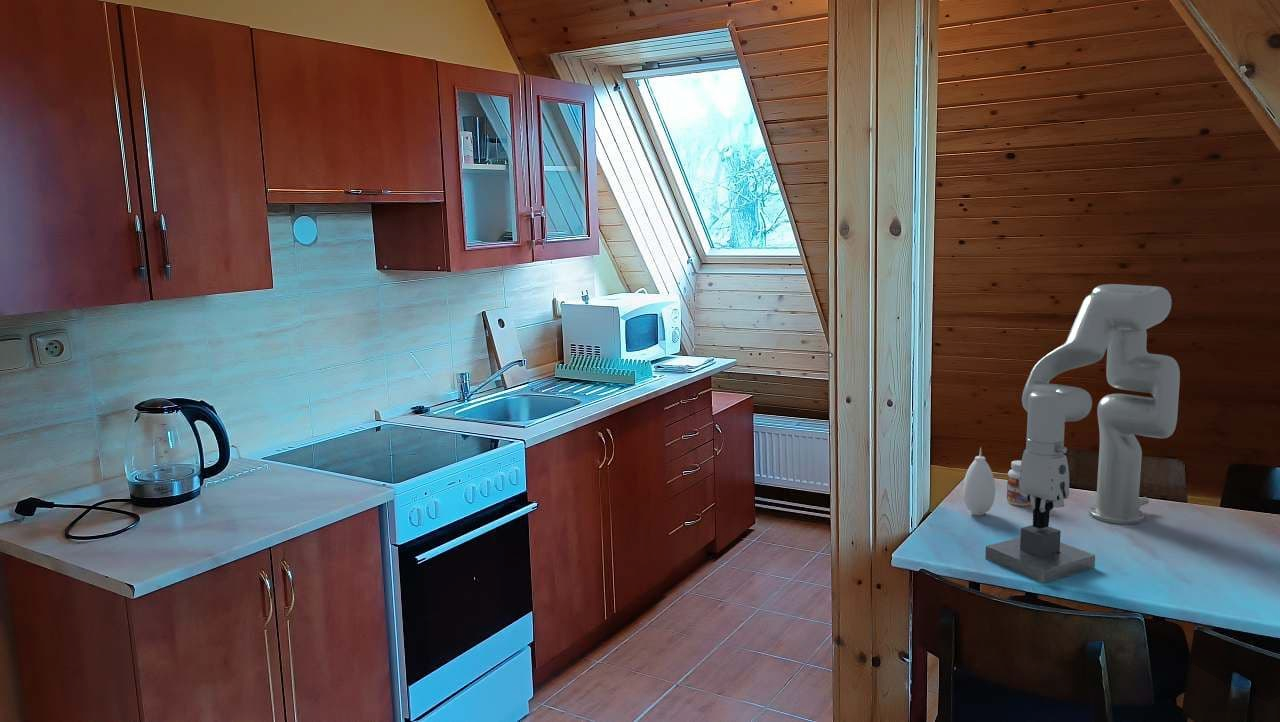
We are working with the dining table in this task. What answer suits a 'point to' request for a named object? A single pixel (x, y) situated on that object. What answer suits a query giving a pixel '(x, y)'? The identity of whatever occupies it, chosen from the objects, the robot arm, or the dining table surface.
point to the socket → (1040, 560)
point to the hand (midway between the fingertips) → (1040, 526)
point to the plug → (1040, 540)
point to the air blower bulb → (979, 486)
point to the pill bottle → (1015, 486)
